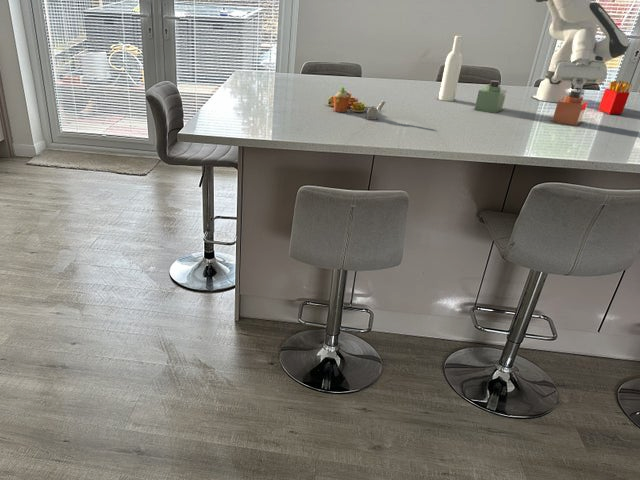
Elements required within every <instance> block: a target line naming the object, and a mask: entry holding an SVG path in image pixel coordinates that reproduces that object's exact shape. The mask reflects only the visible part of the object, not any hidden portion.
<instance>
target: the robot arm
mask: <svg viewBox="0 0 640 480" xmlns="http://www.w3.org/2000/svg"><path fill="white" fill-rule="evenodd" d="M534 2H536V3H543V2H546V3H545V4H546V5H547V7H548V10H549V13H550V15H551V23H550V25H549V29H548V32H549V35H550V37H552V38H554V39H556V40H557V41H562V42H563V43H562V45H561V46H560V48H559V49H558V50H556V51H555V52H554V53H553V54H552V56H551V59H550V64H549V67H548V69H547V70H546V73H545V78H544V79H543V80H542V81H540V83H539V87H538V89H537V93H536V94H533V95H532V98H534V99H537V100H539V101H543V102H548V103H558V101H559V100H561V99H563V98H565V96H566V95H570V93H571V91H572V87H573V90H575V91H581V90H582V89H583V88H584V87H585V88H586V87H589V86H600V85H605V83H604V82H605V80H606V79H607V77H608V76H607V75H608V68H607V64H606V63H607V62H609V61H611V60H613V59H617V58H618V57H621V56H624V55H625V54H626V52H627V51H628V49H629V46H630V39H629V37H628V35H627V34H626V33H625V32H624V31H622V29H620V28H619V26H618V25H617V24H616V23H615V21H614V20H613V19H612V17H611V16H610V14H608V12H607V11H606V10H605V9H604V7H603V6H602V5H601V4H600V3H598V2H597V1H595V2H594V1H591V0H534ZM598 28H599V29H600V31H601V33H603V34H604V36H605V38H602V39H601V40H599V41H598V40H597V38H596V35H597V32H598ZM585 83H589V84H585Z"/></svg>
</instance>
